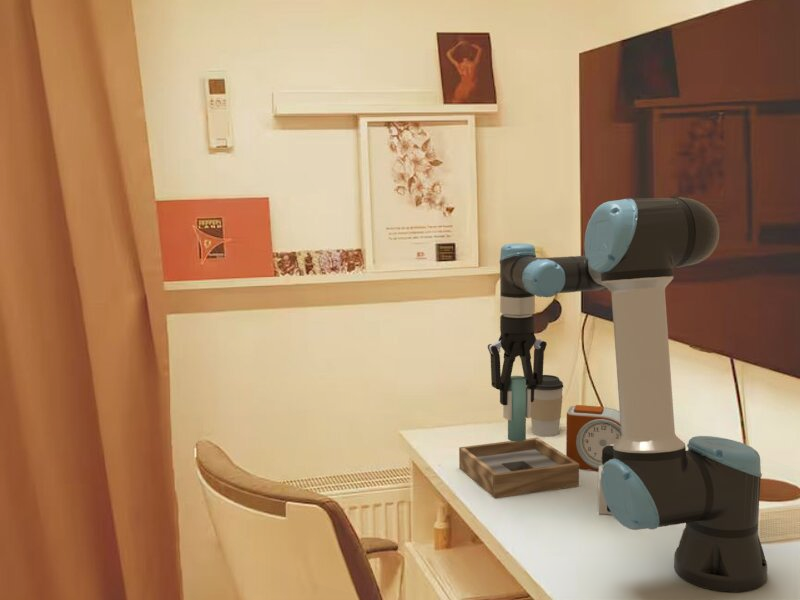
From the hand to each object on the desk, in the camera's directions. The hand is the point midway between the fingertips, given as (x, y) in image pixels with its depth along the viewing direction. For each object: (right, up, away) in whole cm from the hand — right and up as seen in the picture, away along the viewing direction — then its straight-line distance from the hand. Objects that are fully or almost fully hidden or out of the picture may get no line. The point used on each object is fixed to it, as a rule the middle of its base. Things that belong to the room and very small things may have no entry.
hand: (517, 417), depth 202 cm
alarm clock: (+20, -13, +9) cm, 25 cm away
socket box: (0, -14, +2) cm, 14 cm away
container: (+18, -17, -17) cm, 30 cm away
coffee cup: (+12, -9, +34) cm, 37 cm away
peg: (0, -5, +1) cm, 5 cm away
